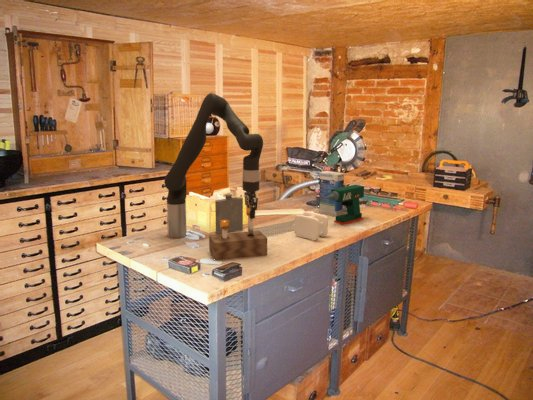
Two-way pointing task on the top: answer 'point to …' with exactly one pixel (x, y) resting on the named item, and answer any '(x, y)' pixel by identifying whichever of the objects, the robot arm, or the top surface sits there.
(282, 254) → the top surface
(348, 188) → the power tool
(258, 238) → the block
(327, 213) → the string lights box
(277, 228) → the corner bead
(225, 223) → the near plunger
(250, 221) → the far plunger
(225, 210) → the hip flask
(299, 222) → the beige rounded block
